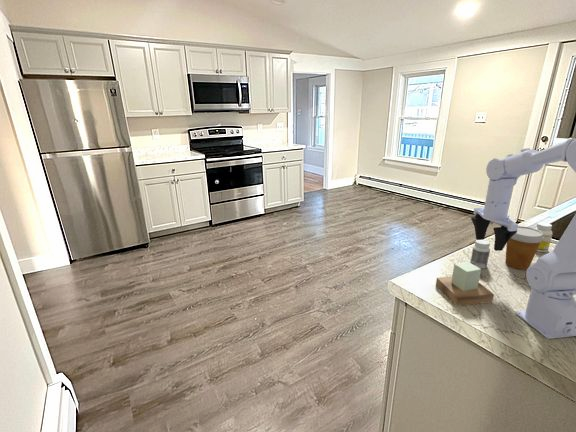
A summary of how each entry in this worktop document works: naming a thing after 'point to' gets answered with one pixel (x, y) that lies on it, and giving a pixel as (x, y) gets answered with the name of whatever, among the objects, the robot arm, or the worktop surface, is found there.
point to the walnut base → (464, 292)
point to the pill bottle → (480, 253)
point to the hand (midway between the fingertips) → (488, 244)
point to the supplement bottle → (547, 235)
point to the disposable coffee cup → (523, 247)
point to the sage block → (466, 276)
